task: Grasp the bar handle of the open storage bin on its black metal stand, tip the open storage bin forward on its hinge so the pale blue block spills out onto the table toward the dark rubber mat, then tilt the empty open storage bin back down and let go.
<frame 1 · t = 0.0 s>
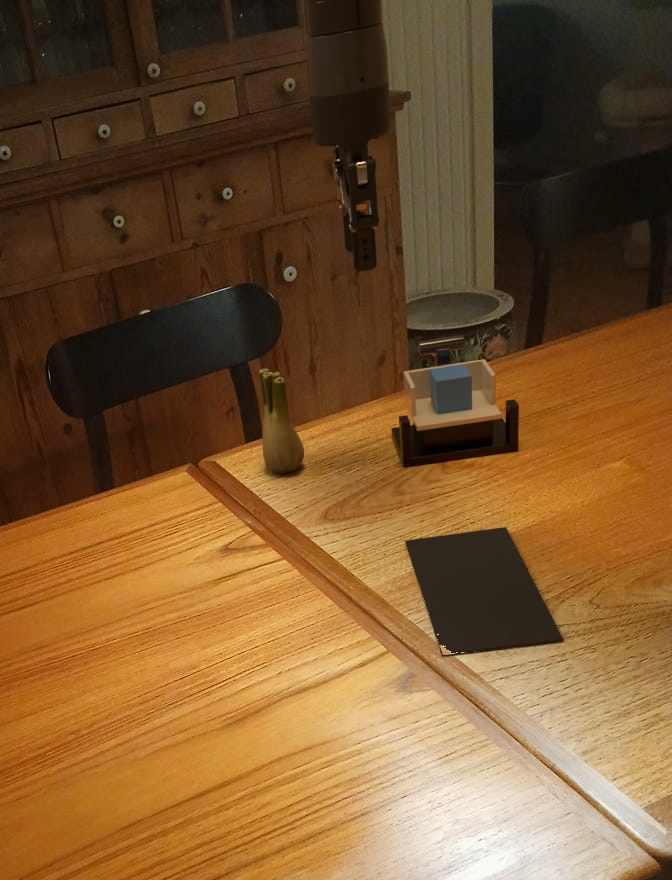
hand: (360, 259, 103), 23 cm above the table, tool pointing down, fingers open, 8 cm apart
stand: (452, 443, 117), on the table
block: (451, 405, 115), point 5 cm above the table, touching open storage bin
open storage bin: (449, 379, 114), point 7 cm above the table, hinge at -0.1°, touching block
mat: (476, 587, 91), on the table
fennel bulb: (285, 469, 119), on the table
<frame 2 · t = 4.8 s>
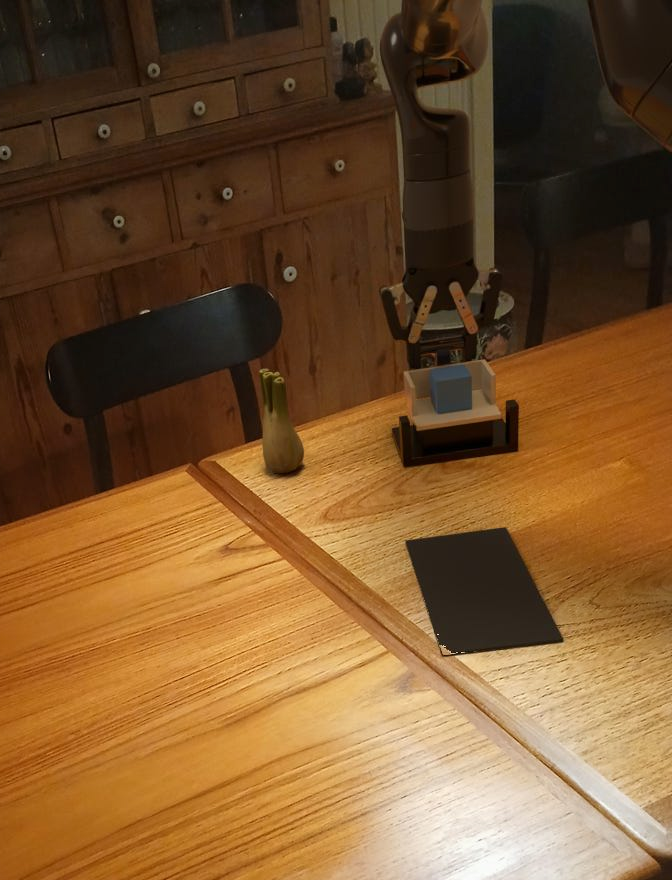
hand: (442, 366, 118), 7 cm above the table, tool pointing down, fingers closed on open storage bin, 5 cm apart
open storage bin: (449, 379, 114), point 7 cm above the table, hinge at -0.1°, touching block, gripper
everything else where it was.
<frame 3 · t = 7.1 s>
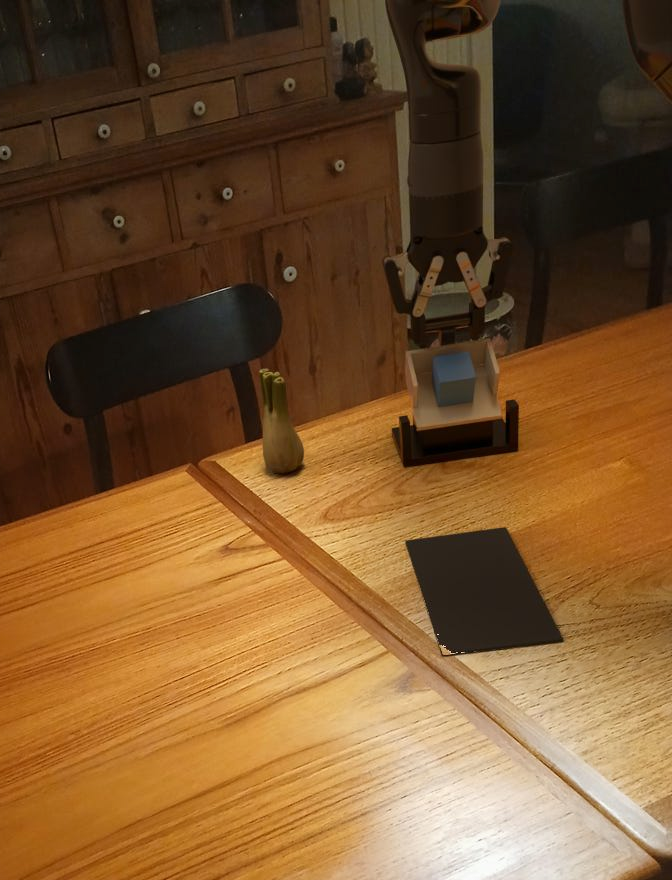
hand: (447, 341, 112), 12 cm above the table, tool pointing down, fingers closed on open storage bin, 5 cm apart
block: (452, 392, 113), point 7 cm above the table, tilted 26°, touching open storage bin
open storage bin: (452, 368, 111), point 9 cm above the table, hinge at 26.3°, touching block, gripper
everything else where it was.
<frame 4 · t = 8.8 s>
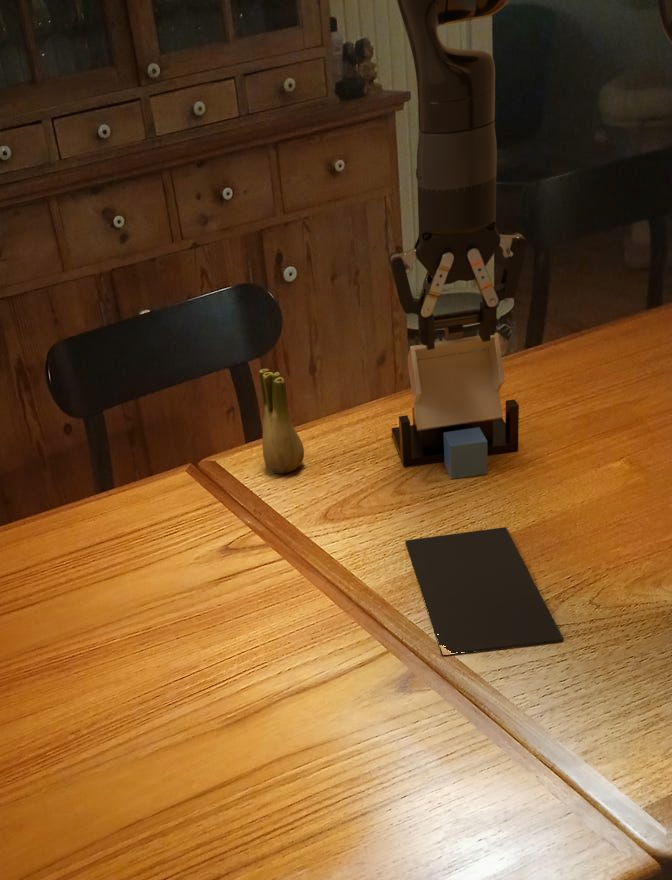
hand: (457, 342, 106), 13 cm above the table, tool pointing down, fingers closed on open storage bin, 5 cm apart
block: (461, 446, 111), point 2 cm above the table, tilted 90°
open storage bin: (456, 368, 108), point 10 cm above the table, hinge at 51.5°, touching gripper
everything else where it was.
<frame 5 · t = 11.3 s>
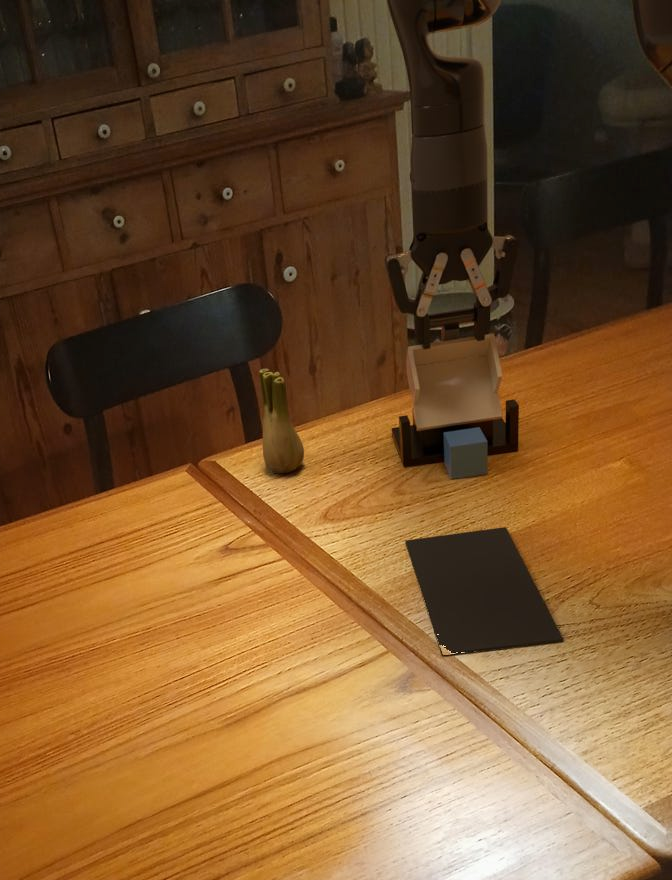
hand: (452, 342, 109), 13 cm above the table, tool pointing down, fingers closed on open storage bin, 5 cm apart
open storage bin: (454, 367, 110), point 10 cm above the table, hinge at 39.2°, touching gripper
everything else where it was.
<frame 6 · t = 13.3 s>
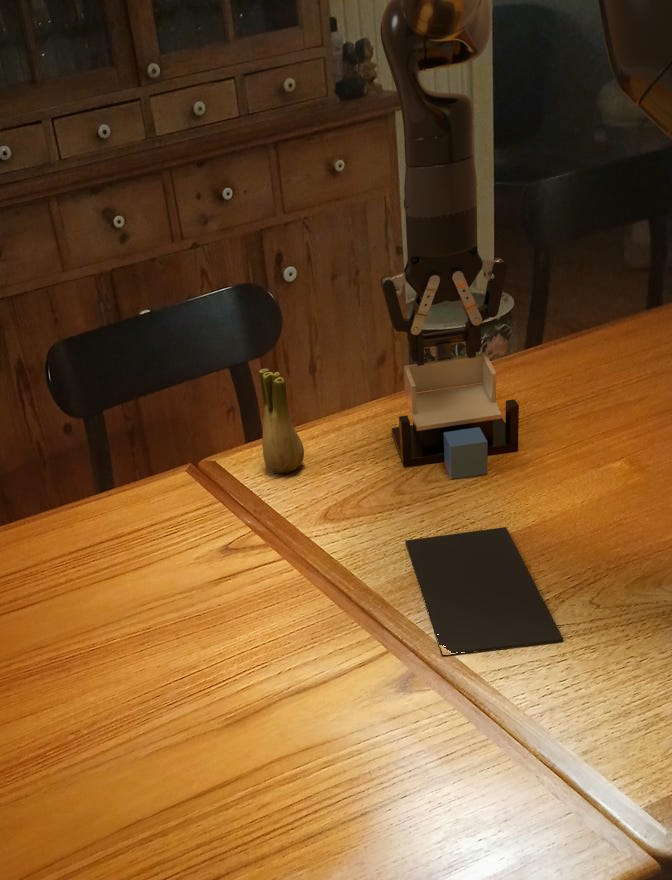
hand: (445, 359, 115), 9 cm above the table, tool pointing down, fingers closed on open storage bin, 5 cm apart
open storage bin: (449, 376, 113), point 8 cm above the table, hinge at 6.0°, touching gripper
everything else where it was.
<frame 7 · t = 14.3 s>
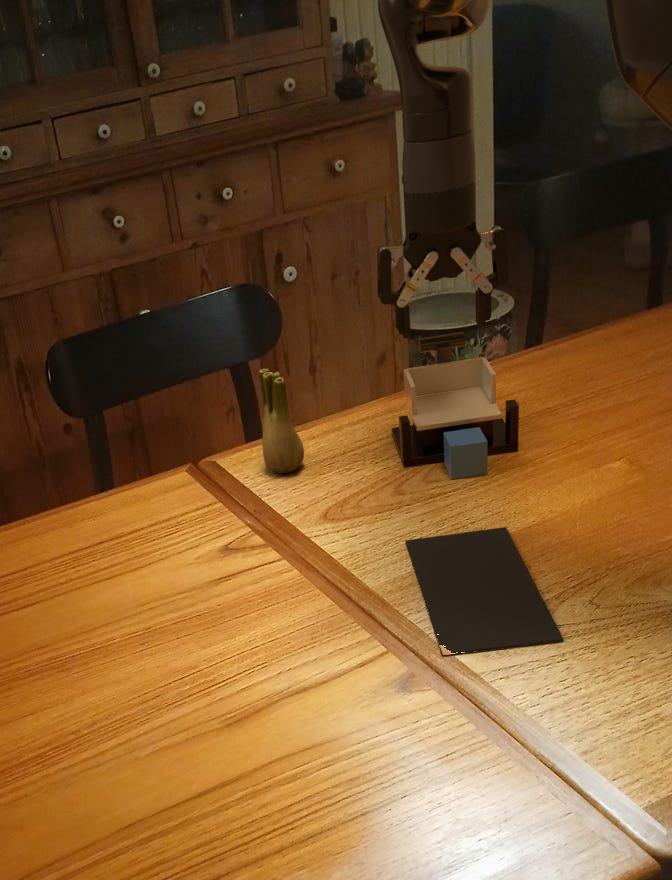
hand: (443, 330, 114), 12 cm above the table, tool pointing down, fingers open, 8 cm apart
open storage bin: (449, 378, 114), point 8 cm above the table, hinge at 2.5°
everything else where it was.
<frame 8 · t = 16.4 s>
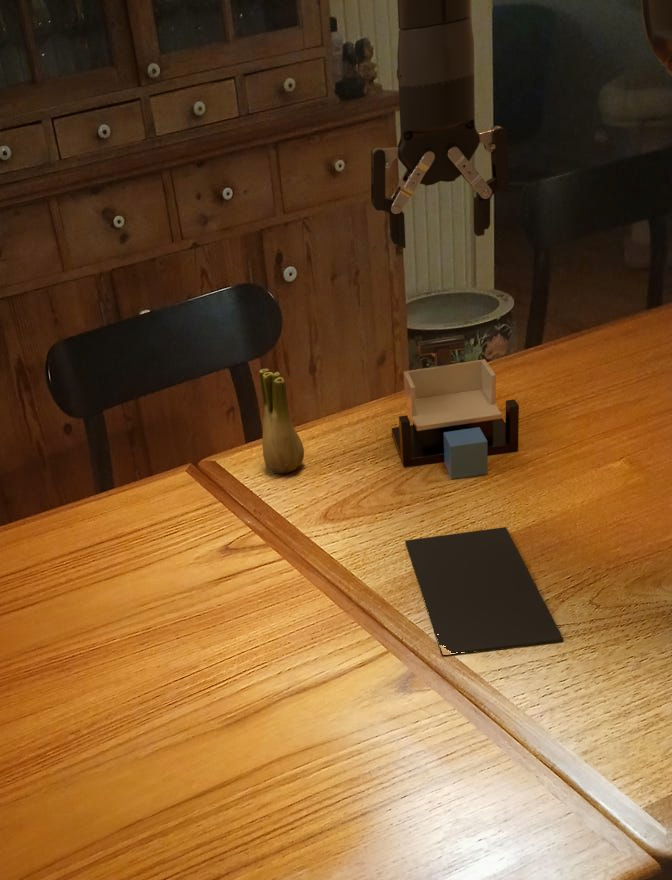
hand: (440, 240, 109), 22 cm above the table, tool pointing down, fingers open, 8 cm apart
open storage bin: (449, 379, 114), point 7 cm above the table, hinge at -0.1°
everything else where it was.
at the end: block inside the target area on the table beside the mat (14.7 cm from its centre), point 2.0 cm above the table; open storage bin reached +53° during the clip, +0° at the end; open storage bin at +0° (first picture: +0°) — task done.
